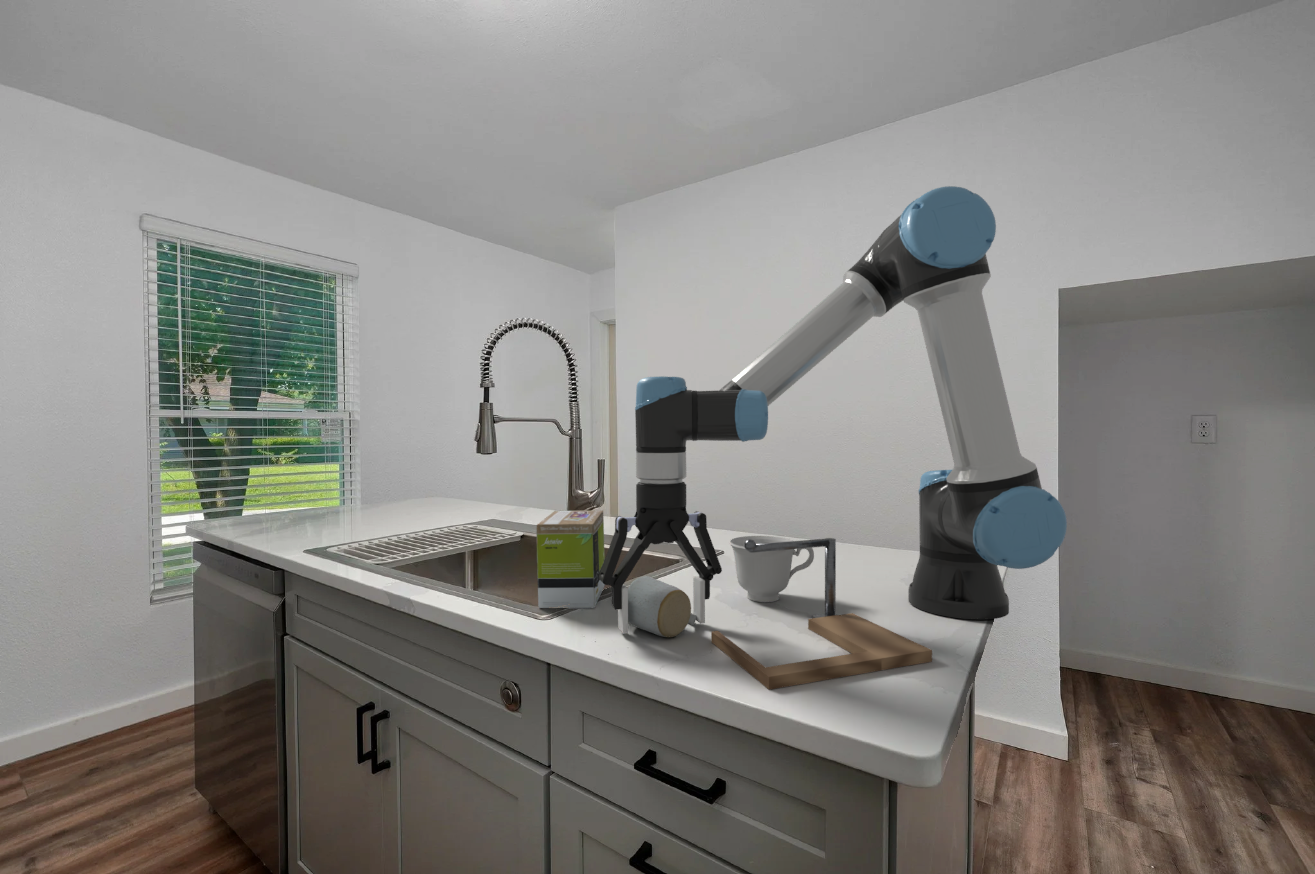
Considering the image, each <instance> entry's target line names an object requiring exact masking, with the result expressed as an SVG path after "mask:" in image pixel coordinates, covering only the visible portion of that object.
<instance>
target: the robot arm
mask: <svg viewBox="0 0 1315 874" xmlns="http://www.w3.org/2000/svg"><path fill="white" fill-rule="evenodd" d="M996 223H997V222H996V218H995V214H994V212H993V209H992V208H991V206H990V205H989V204H988V202H987V201H986V200H985V199H984V198H983V197H982V196H980V195H979V194H977V193H974V192H972V191H971V190H969V189H968V188H965V187H960V186H956V185H955V186H950V185H947V186H941V187H937V188H934V189H933V188H932V189H931V190H929V191H926V192H925V193H924V194H922V195H921V196H920V197H917V198H916V199H915V200H912V201H911V202H910V203H909V204H908V205H907V206H906V207H905V208H904V210H903V211H902V213H901V214H900V215H899V216H898V217H897V218H896V219H894V221H892V222H891V224H889V225H888V226H887V227H886V228H885V229H884V230H883V232H882V233H881V234H879V236H878V237H877V239H875V241H874V242H873V244H871V246H870V247H869V248H868V250H867V251H866V252H865V253H864V254H863V255H862V256H861V257H860V259H859V260H858V261H857V262H856V263H855V264H853V266H852V267H850V268H849V269H847V271H846V272H844V273H843V276H842V277H843V278H842V283H841V284H840V285H839V286H838V287H836V288H835V289H834V290H833V291H831V293H830V294H828V295H827V296H825V298H824V299H823V300H822V301H821V302H819V303H818V304H817V305H815V307H813V308H812V309H811V310H810V311H809V312H808V313H806V314H805V315H804V316H803V317H802V318H801V319H800V320H799V321H797V322H796V323H795V324H794V325H792V327H790V328H789V329H788V330H787V331H786V332H784V333H783V334H782V335H781V336H780V337H779V338H778V339H776V341H774V342H773V343H772V344H771V345H769V346H768V347H767V348H766V349H765V350H764V351H763V352H761V353H760V354H759V355H758V356H757V357H756V358H754V360H753V361H751V362H750V363H749V364H747V366H745V368H743V369H742V370H741V371H739V372H738V374H737V375H735V376H734V377H733V378H732V379H731V380H730V381H729V382H727V383H726V384H725V385H724V386H723V387H721V388H720V389H719V390H691V389H688V386H687V383H686V382H687V381H686V379H685V378H684V377H680V376H665V375H663V376H647V377H643V378H641V379H639V381H638V382H637V384H636V392H635V394H636V395H635V408H634V410H635V451H636V453H635V456H636V457H635V459H636V461H635V462H636V463H635V464H636V465H635V467H636V468H635V470H636V471H635V475H636V476H635V477H636V478H637V479H638V480H640V481H639V482H637V484H635V485H636V487H635V490H636V491H635V493H636V495H635V497H636V498H635V502H636V506H635V507H636V508H635V509H636V511H635V514H634V515H633V516H629V517H624V516H621V515H618V516H616V517H615V520H614V533H613V536H612V539H611V541H610V544H609V547H608V549H607V553H606V555H605V560H604V563H603V566H602V569H601V571H600V574H599V579H600V581H601V582H602V583H603V584H605V586H610V587H611V591H610V592H611V606H612V607H613V609H614V610H617V627H618V629H619V631H621V632H622V634H628V633H629V623H628V587H627V586H626V585H625V582H626V581H627V579H628V578H629V576H630V574H631V572H633V570H634V568H635V566H637V563H638V562H639V560H640V558H641V557H642V555H643V554H644V552H645V550H647V549H648V548H649V547H650V545H651V544H652V545H660V544H663V543H665V544H674V543H676V544H677V546H678V547H679V548H680V550H681V551H682V553H683V554H684V555H685V557H686V559H687V560H688V561H689V562H690V564H691V565H692V567H693V569H694V571H695V572H696V573H697V574H698V576H697V575H696V576H693V577H692V578H693V580H692V581H693V582H692V583H693V584H692V585H693V586H692V588H693V590H692V591H693V592H692V593H693V597H692V598H693V599H692V600H693V601H692V602H693V603H692V604H693V610H692V611H693V613H692V614H695V615H696V620H695V622H697V623H699V624H706V600H709V599H710V597H711V581H712V580H713V579H714V576H715V575H720V574H721V573H722V572H723V568H722V566H721V563H720V559H719V557H718V554H717V552H716V549H715V547H714V544H713V541H712V539H711V536H710V533H709V531H708V526H707V525H708V524H707V515H706V513H703V512H702V511H701V512H700V511H697V510H695V511H694V512H693V513H688V511H687V484H686V482H685V481H683V480H684V479H686V477H687V452H686V451H687V446H686V445H687V441H693V442H696V441H711V442H712V441H716V442H717V441H718V442H719V441H721V442H722V441H723V442H724V441H725V442H726V441H727V442H728V441H729V442H730V441H731V442H732V441H733V442H735V441H737V442H738V441H739V442H740V441H741V442H742V443H744V442H749V441H761V440H763V439H764V438H765V437H766V435H767V432H768V425H769V406H770V405H771V404H773V402H775V401H776V400H777V399H778V398H780V397H781V396H782V395H783V394H784V393H786V392H787V391H788V390H789V389H790V388H791V387H792V386H794V385H795V384H796V383H797V382H798V381H799V380H800V379H802V378H803V377H804V376H805V375H806V374H808V373H809V372H810V371H811V370H812V369H814V367H816V366H817V365H818V364H819V363H820V362H821V361H823V360H824V359H825V358H826V357H827V356H828V355H830V354H831V353H832V352H834V350H836V349H837V348H838V347H839V346H840V345H841V344H843V343H844V342H845V341H846V340H848V339H849V338H850V337H851V336H852V335H853V334H854V333H856V332H857V331H858V330H859V329H860V328H861V327H863V326H864V325H865V324H866V323H868V322H869V320H871V319H872V318H873V317H874V318H875V317H876V318H877V317H878V318H881V317H884V316H885V315H886V314H887V313H888V312H890V310H892V309H893V308H895V307H896V306H897V305H898V304H900V303H902V302H903V303H905V304H906V305H909V306H910V307H912V308H913V309H915V310H916V311H917V314H918V318H919V323H920V327H921V332H922V336H923V339H924V343H925V348H926V352H927V356H928V360H929V365H930V368H931V373H932V377H933V381H934V385H935V389H936V394H937V398H938V402H939V406H940V411H941V414H942V415H941V416H942V418H943V422H944V428H945V431H946V435H947V439H948V443H949V448H950V451H951V456H952V460H953V463H954V465H953V468H952V469H937V470H928V471H925V472H924V473H923V474H921V476H920V479H919V481H920V482H919V489H918V495H919V498H918V499H919V507H918V508H919V557H918V561H917V563H916V568H915V571H914V575H913V579H912V582H911V583H910V584H909V586H908V592H907V593H908V603H910V605H912V606H914V607H915V608H917V609H919V610H921V611H924V612H927V613H931V614H935V615H938V616H941V617H942V616H943V617H949V618H953V619H955V618H956V619H963V620H980V621H981V620H996V619H1001V618H1005V617H1006V616H1008V615H1009V614H1010V601H1009V600H1010V599H1009V596H1008V594H1007V593H1006V592H1005V588H1004V584H1003V580H1002V579H1003V578H1002V577H1001V573H1000V569H999V568H998V566H1000V567H1005V568H1009V569H1015V570H1017V569H1019V570H1024V569H1030V568H1033V567H1036V566H1037V567H1038V566H1039V565H1041V564H1043V563H1045V562H1046V561H1048V560H1049V559H1051V558H1052V557H1053V556H1054V555H1055V553H1056V551H1057V550H1058V549H1059V548H1060V547H1061V546H1062V544H1063V542H1064V539H1065V538H1066V534H1067V527H1068V524H1067V523H1068V522H1067V515H1066V511H1065V508H1064V507H1063V506H1062V503H1060V501H1059V500H1058V498H1056V497H1055V496H1054V495H1052V494H1051V493H1050V492H1049V491H1047V490H1046V489H1043V487H1042V484H1041V480H1040V474H1039V471H1038V467H1037V465H1036V463H1034V462H1033V461H1032V460H1030V459H1028V458H1025V457H1024V456H1023V455H1022V453H1021V452H1020V451H1021V450H1020V447H1019V442H1018V438H1017V434H1016V429H1015V426H1014V422H1013V417H1012V413H1011V410H1010V409H1011V408H1010V405H1009V404H1010V403H1009V401H1008V397H1007V392H1006V388H1005V384H1004V380H1003V375H1002V372H1001V371H1002V370H1001V368H1000V367H1001V366H1000V363H999V359H998V355H997V350H996V347H995V342H994V339H993V334H992V329H991V326H990V321H989V318H988V313H987V309H986V304H985V301H984V297H983V289H984V287H985V286H986V285H987V283H988V282H989V280H990V278H992V277H991V276H992V274H991V271H990V267H989V263H988V258H987V252H988V251H989V249H991V247H992V243H993V242H994V240H995V237H996V233H997V230H996V229H997V225H996ZM688 523H689V524H690V526H691V527H693V530H694V533H695V536H696V538H697V542H698V544H699V547H700V549H701V552H702V555H703V558H704V560H705V563H706V564H705V563H704V562H703V559H702V558H701V557H700V555H699V554H698V552H697V551H696V549H695V548H694V547H693V545H692V544H691V542H690V540H689V538H688V537H687V535H686V534H685V533H684V529H685V528H686V527H687V525H688ZM633 526H635V527H636V529H637V530H638V533H637V535H636V536H635V538H634V540H633V543H632V545H631V546H630V548H628V550H627V553H626V554H625V555H624V558H622V560H621V562H620V563H619V565H618V562H619V559H620V557H621V553H622V551H623V550H624V549H623V548H624V546H625V543H626V540H627V536H628V533H630V531H631V530H632V527H633ZM617 565H618V567H617ZM706 565H707V566H706ZM616 567H617V568H616Z"/></svg>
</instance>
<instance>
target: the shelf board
mask: <svg viewBox="0 0 1315 874" xmlns="http://www.w3.org/2000/svg"><path fill="white" fill-rule="evenodd" d="M807 622H808V623H807V626H808V627H807V629H808V630H809V631H811V632H813V633H814V634H817V635H818V636H820V637H822V638H824V639H826V640H827V641H829V642H830V643H833V644H834V645H836V646H838V647H840V648H842V649H843V650H845V651H847V652H849V653H847V654H841V655H836V656H828V657H823V658H815V659H812V660H811V659H809V660H804V661H796V662H791V663H785V664H779V665H773V666H765V665H763V664H762V663H761V662H759V661H758V660H757V659H755V658H754V656H752V655H750V653H748V652H746V651H745V650H744V649H742V648H741V647H740V646H739V645H738V644H736V643H734V641H732V640H731V639H729V638H728V637H727V636H725V635H724V634H723V633H722V632H720V631H719V630H713V631H711V632H710V633H711V636H710V637H711V639H710V640H711V643H712V644H713V645H714V646H715V647H716V648H718V649H719V650H720V651H722V653H724V654H725V655H726V656H727V657H728V658H730V659H731V660H732V661H734V662H735V663H736V664H737V665H738V666H739V667H740V668H742V669H743V670H744V671H745V672H747V673H748V674H750V676H752V677H753V678H754V679H755V680H756V681H758V682H759V683H760V684H761V685H763V687H764V688H766V689H767V690H769V691H770V690H775V689H781V688H785V687H787V688H788V687H793V686H799V685H803V684H809V683H815V682H821V681H827V680H828V681H829V680H835V679H838V678H844V677H845V678H846V677H851V676H854V675H855V676H856V675H861V674H862V675H863V674H867V673H873V672H878V671H885V670H891V669H896V668H897V669H898V668H901V667H907V666H914V665H921V664H925V663H926V664H927V663H931V662H933V649H930V648H929V647H926V646H925V645H921V644H920V643H918V642H916V641H913V640H911V639H909V638H906V637H905V636H903V635H900V634H899V633H896V632H894V631H892V630H889V629H887V628H885V627H883V626H881V625H879V624H877V623H874V622H872V621H870V620H868V619H867V618H864V617H862V616H860V615H857V614H855V613H853V612H850V613H844V614H836V615H835V616H827V617H819V618H812V617H811V618H808V619H807Z"/></svg>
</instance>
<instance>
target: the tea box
mask: <svg viewBox="0 0 1315 874" xmlns="http://www.w3.org/2000/svg"><path fill="white" fill-rule="evenodd" d="M604 524H605V523H604V510H561V511H560V510H559V511H558V510H554V511H553V512H551V513H550V514H549V515H548V516H546V517H545V518H544V519H542V520H541V521H540V522H539V523H537V524H536V563H537V566H536V568H537V571H536V572H537V601H538V603H537V605H538V606H537V607H538V608H539V609H540V608H549V607H558V606H562V605H567V606H564V607H568V608H569V609H570V610H571V609H574V610H575V609H577V610H578V609H595V608H596V606H597V603H598V601H599V599H600V597H601V594H602V592H603V589H604V588H605V586H606V585H605V584H603V583H602V582H601V581H600V579H599V574H600V571H601V569H602V566H603V563H604V560H605V558H606V555H605V529H604ZM568 604H570V605H568ZM560 608H563V607H560ZM569 609H568V610H569Z"/></svg>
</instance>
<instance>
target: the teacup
mask: <svg viewBox="0 0 1315 874" xmlns="http://www.w3.org/2000/svg"><path fill="white" fill-rule="evenodd" d="M748 539H752V540H754V541H755V542H756V544H763V543H776V542H789V541H794V539H790V538H786V537H780V536H771V535H746V536H738V537H735V538H732V539H730V540H729V542H728V543H729V545H730V546H731V548H732V550H733V555H734V557H733V558H734V563H735V573H736V578H737V582H738V584H739V586H740V587H741V588H742V589H743V590H745V591H746V592H747V594H746V598H747V599H748V600H749V601H753V602H759V603H773V602H777V601H779V600H780V592H783V591H784V590H785V589H786V588H787V587H788V585H789V583H790V579H791V578H792V577H793V576H794V574H796V573H797V572H799V571H802V570H805V569H807V568H809V567H810V566H811V565H812V563H813V562H814V559H815V552H814V549H813V548H802V549H790V550H778V551H766V552H754V553H750V552H749V551H747V550H746V549H745V548H744V543H745V541H746V540H748ZM802 550H806V551H807V552H808V557H807V559H806V561H805V562H803V563H801V564H798V565H796V566H795V567H793V568H792V563H793V557H794V556H796V557H799V556H800V555H801V554H800V553H801V551H802Z"/></svg>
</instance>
